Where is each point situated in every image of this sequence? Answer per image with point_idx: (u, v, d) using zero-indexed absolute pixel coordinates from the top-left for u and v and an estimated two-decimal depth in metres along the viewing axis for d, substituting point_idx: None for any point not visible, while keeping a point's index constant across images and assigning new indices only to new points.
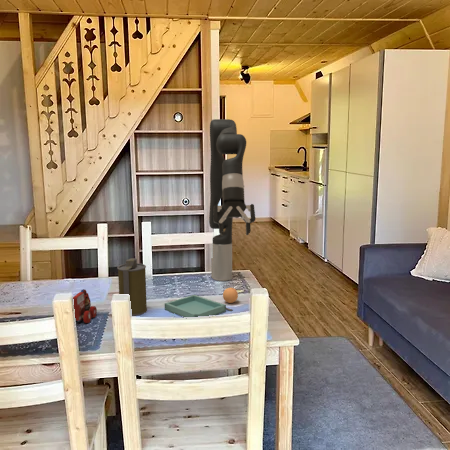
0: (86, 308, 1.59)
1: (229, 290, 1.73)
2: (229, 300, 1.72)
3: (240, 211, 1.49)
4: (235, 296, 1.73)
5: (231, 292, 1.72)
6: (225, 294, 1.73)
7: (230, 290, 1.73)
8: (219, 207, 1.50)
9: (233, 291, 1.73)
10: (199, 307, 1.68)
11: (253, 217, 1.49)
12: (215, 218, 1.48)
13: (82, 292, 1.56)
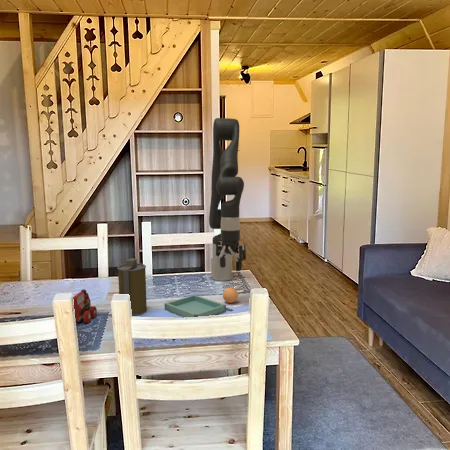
0: (86, 308, 1.59)
1: (229, 290, 1.73)
2: (229, 300, 1.72)
3: (231, 251, 1.69)
4: (235, 296, 1.73)
5: (231, 292, 1.72)
6: (225, 294, 1.73)
7: (230, 290, 1.73)
8: (220, 243, 1.75)
9: (233, 291, 1.73)
10: (199, 307, 1.68)
11: (240, 257, 1.67)
12: (216, 253, 1.76)
13: (82, 292, 1.56)
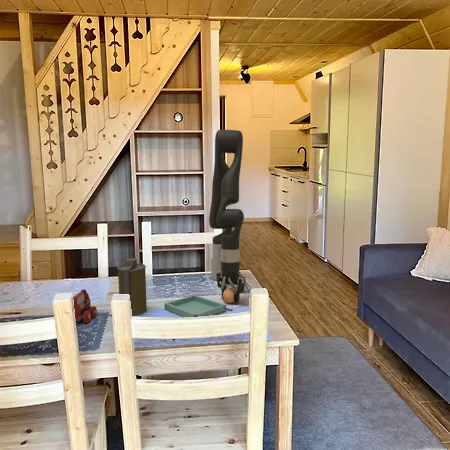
0: (86, 308, 1.59)
1: (229, 290, 1.73)
2: (229, 300, 1.72)
3: (230, 282, 1.71)
4: None
5: (231, 293, 1.72)
6: (225, 294, 1.73)
7: (230, 290, 1.73)
8: (220, 274, 1.77)
9: (233, 291, 1.73)
10: (199, 307, 1.68)
11: (238, 290, 1.70)
12: (218, 285, 1.77)
13: (82, 292, 1.56)
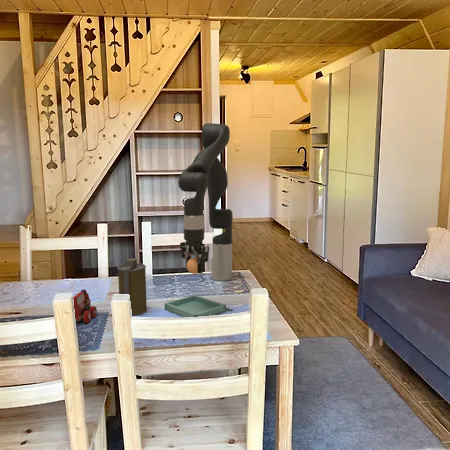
0: (86, 308, 1.59)
1: (193, 260, 1.62)
2: (193, 271, 1.61)
3: (193, 251, 1.60)
4: None
5: (195, 262, 1.61)
6: (188, 264, 1.61)
7: (194, 260, 1.62)
8: (184, 244, 1.66)
9: None
10: (199, 307, 1.68)
11: (201, 259, 1.58)
12: (182, 255, 1.66)
13: (82, 292, 1.56)
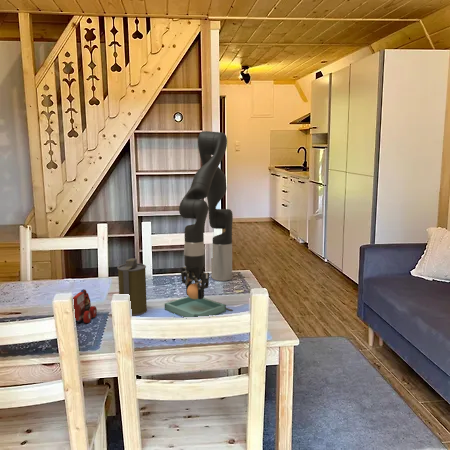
0: (86, 308, 1.59)
1: (193, 286, 1.63)
2: (193, 296, 1.63)
3: (194, 277, 1.62)
4: None
5: (195, 288, 1.62)
6: (189, 290, 1.63)
7: (194, 286, 1.63)
8: (185, 269, 1.67)
9: (197, 287, 1.63)
10: (199, 307, 1.68)
11: (202, 285, 1.60)
12: (182, 280, 1.67)
13: (82, 292, 1.56)
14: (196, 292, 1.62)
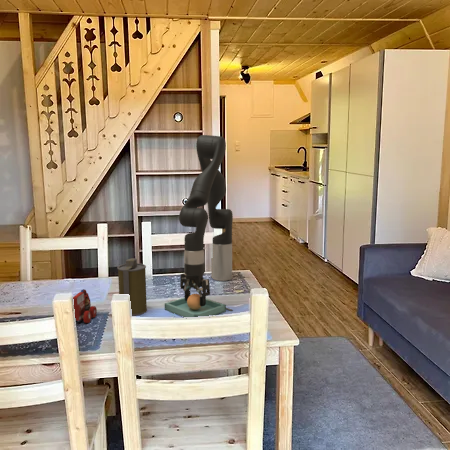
0: (86, 308, 1.59)
1: (193, 296, 1.64)
2: (193, 307, 1.63)
3: (194, 285, 1.62)
4: (199, 303, 1.63)
5: (195, 299, 1.63)
6: (189, 301, 1.64)
7: (194, 296, 1.64)
8: (185, 276, 1.68)
9: (197, 297, 1.64)
10: None
11: (203, 293, 1.60)
12: (181, 286, 1.69)
13: (82, 292, 1.56)
14: (196, 303, 1.63)
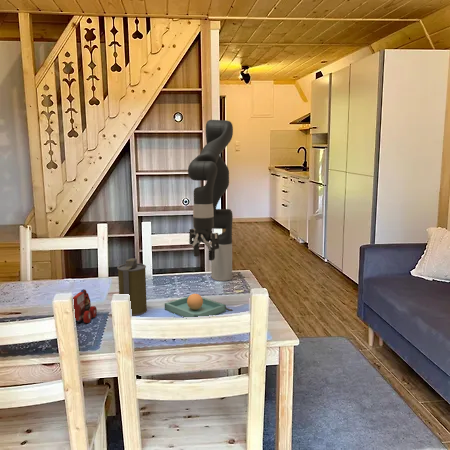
0: (86, 308, 1.59)
1: (193, 296, 1.64)
2: (193, 307, 1.63)
3: (203, 239, 1.62)
4: (199, 303, 1.63)
5: (195, 299, 1.63)
6: (189, 301, 1.64)
7: (194, 296, 1.64)
8: (194, 231, 1.67)
9: (197, 297, 1.64)
10: None
11: (212, 246, 1.59)
12: (190, 241, 1.68)
13: (82, 292, 1.56)
14: (196, 303, 1.63)
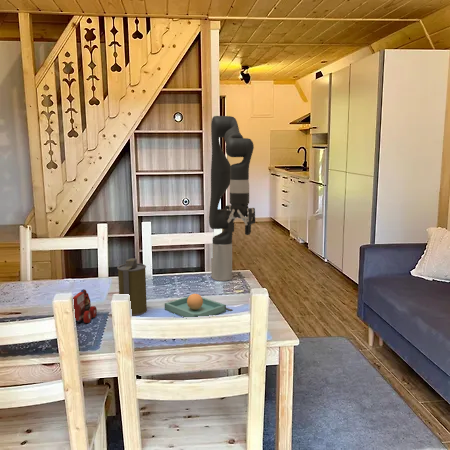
0: (86, 308, 1.59)
1: (193, 296, 1.64)
2: (193, 307, 1.63)
3: (240, 214, 1.66)
4: (199, 303, 1.63)
5: (195, 299, 1.63)
6: (189, 301, 1.64)
7: (194, 296, 1.64)
8: (229, 207, 1.72)
9: (197, 297, 1.64)
10: None
11: (249, 220, 1.64)
12: (225, 217, 1.73)
13: (82, 292, 1.56)
14: (196, 303, 1.63)
